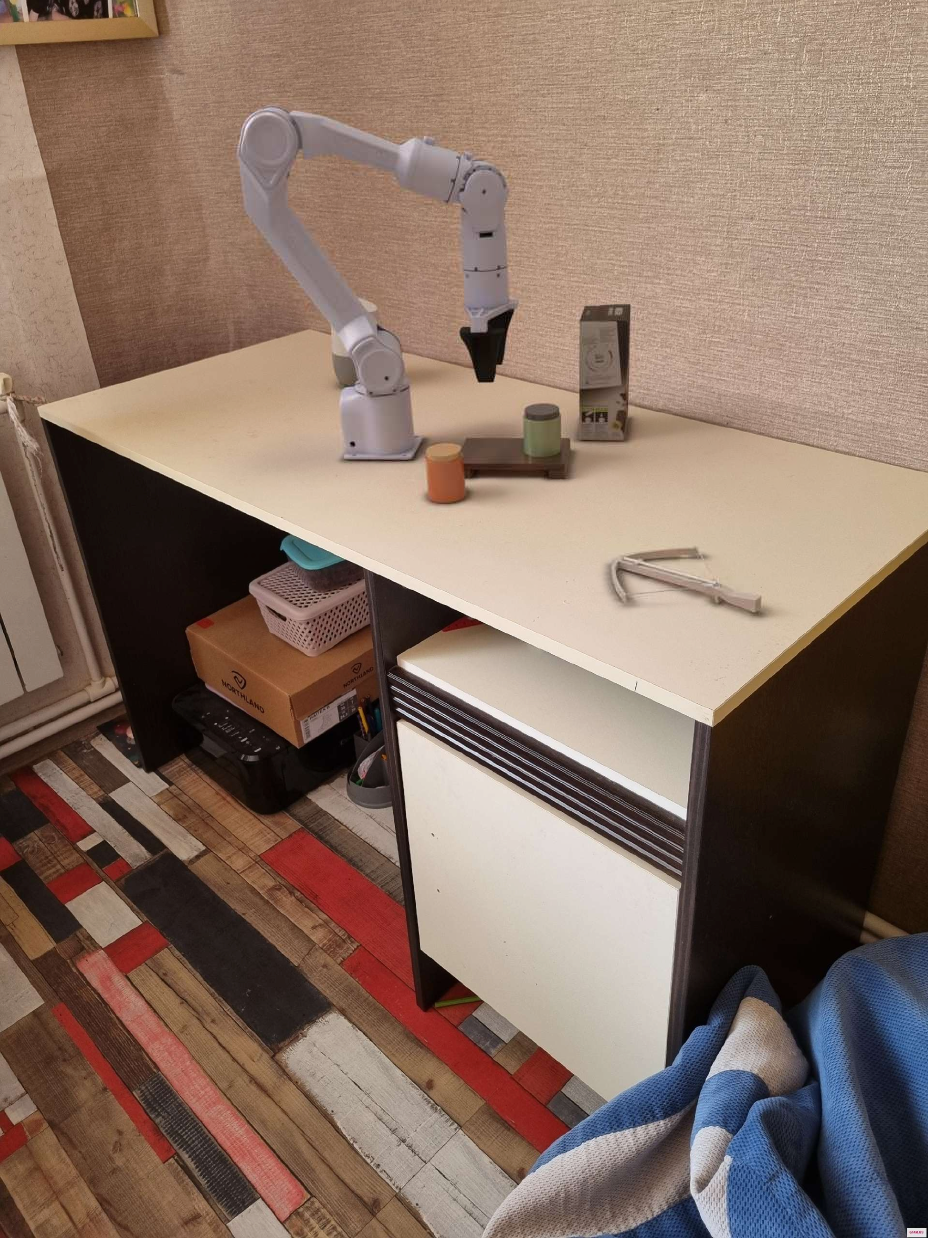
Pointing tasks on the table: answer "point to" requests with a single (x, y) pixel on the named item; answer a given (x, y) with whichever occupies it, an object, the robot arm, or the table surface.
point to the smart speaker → (340, 357)
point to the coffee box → (604, 372)
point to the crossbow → (680, 577)
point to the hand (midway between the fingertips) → (490, 372)
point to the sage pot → (542, 430)
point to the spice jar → (445, 473)
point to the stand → (511, 456)
